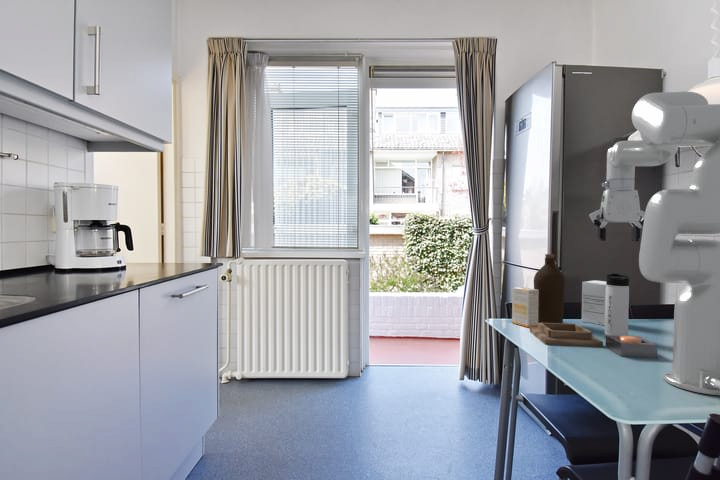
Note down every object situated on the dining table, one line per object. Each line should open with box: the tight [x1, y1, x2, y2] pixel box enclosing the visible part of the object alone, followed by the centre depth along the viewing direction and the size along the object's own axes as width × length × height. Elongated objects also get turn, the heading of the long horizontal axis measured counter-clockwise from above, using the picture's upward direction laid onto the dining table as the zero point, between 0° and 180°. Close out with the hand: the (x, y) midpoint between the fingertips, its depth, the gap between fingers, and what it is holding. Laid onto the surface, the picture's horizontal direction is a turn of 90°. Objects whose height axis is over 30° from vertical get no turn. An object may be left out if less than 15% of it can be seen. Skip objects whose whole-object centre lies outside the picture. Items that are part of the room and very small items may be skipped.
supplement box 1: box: [511, 286, 539, 328], centre depth 150 cm, size 8×5×13 cm, turn 22°
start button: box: [620, 335, 641, 343], centre depth 117 cm, size 5×5×3 cm
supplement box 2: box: [581, 279, 607, 326], centre depth 156 cm, size 9×9×15 cm
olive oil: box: [533, 253, 567, 323], centre depth 155 cm, size 11×11×25 cm
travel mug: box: [604, 273, 630, 338], centre depth 133 cm, size 6×7×20 cm
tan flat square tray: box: [529, 322, 604, 348], centre depth 131 cm, size 16×16×4 cm
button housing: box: [605, 335, 658, 359], centre depth 117 cm, size 9×9×4 cm
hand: (618, 241), depth 133 cm, fingers open, 9 cm apart
